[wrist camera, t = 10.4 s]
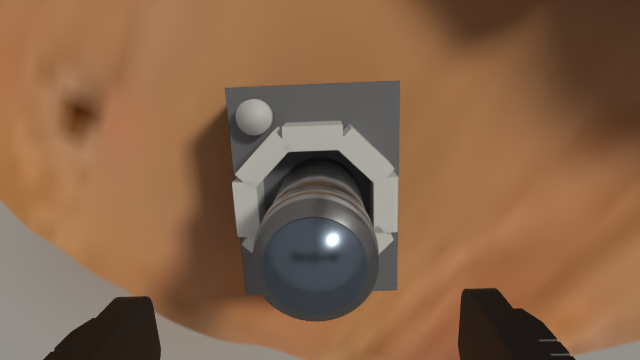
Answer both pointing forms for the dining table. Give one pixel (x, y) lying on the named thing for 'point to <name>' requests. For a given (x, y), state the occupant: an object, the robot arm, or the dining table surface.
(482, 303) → the robot arm
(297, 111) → the camera body
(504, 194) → the dining table surface
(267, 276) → the lens
